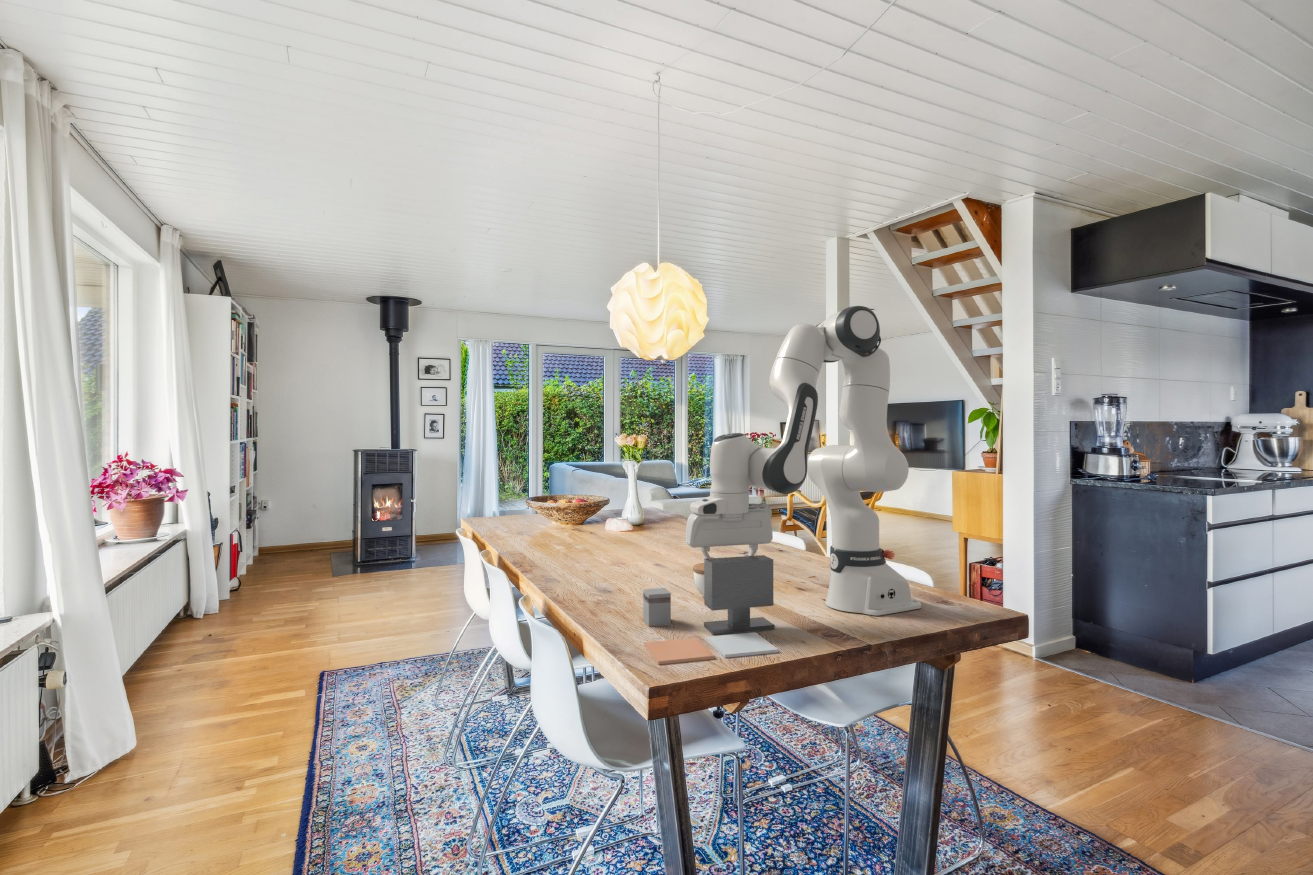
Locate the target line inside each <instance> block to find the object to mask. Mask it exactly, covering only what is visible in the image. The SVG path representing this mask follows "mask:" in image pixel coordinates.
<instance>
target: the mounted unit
mask: <svg viewBox="0 0 1313 875" xmlns="http://www.w3.org/2000/svg"><path fill="white" fill-rule="evenodd" d="M703 563H704V597H703V598H704V602H703V604H704V605H705V606H706V607H707V608H708V609H709V610H711V611H713V612H715V611H722V610H723V611H724V610H726V611H727V620H726V619H724V620H713V621H704V622H703V628H704V629H706V630H707V631H708V632H709V633H710V634H712V636H720V635H731V634H742V633H753V632H759V631H773V630H774V631H775V624H774V623H773V622H771V621H770V620H768V619H767V618H765V617H763V616H760V617H751V608H763V607H773V606H774V559H773V558H771V557H768V556H766V555H762V554H761V555H754V556H744V555H743V556H729V557H712V558H708V559H706V558H704V561H703Z"/></svg>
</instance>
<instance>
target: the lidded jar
mask: <svg viewBox="0 0 1313 875" xmlns="http://www.w3.org/2000/svg"><path fill="white" fill-rule="evenodd" d="M692 570H693V582H694V586H695V588H696V591H697V592H698V593H699V594H700V596H701V597H702V598H704V562H699V563H695V564H694V565H693V566H692Z"/></svg>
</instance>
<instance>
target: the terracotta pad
mask: <svg viewBox="0 0 1313 875" xmlns="http://www.w3.org/2000/svg"><path fill="white" fill-rule="evenodd" d="M643 645H644V647H645V648H646V650H647V651H648V652H649V654H650V655H651V657H652V658H653V659H654V661H655V663H656V664H657V665H666V664H667V665H669V664H675V663H676V664H678V663H688V662H697V661H706V660H707V661H708V660H715V659H716V656H715V654H714V653H713V652H712V651H711V650H710V649H709V648H707V646H706V645H704V644H703V643H702V641H700V640H699V639H698V638H697V637H690V638H689V637H688V638H677V639H668V640H667V639H666V640H658V641H656V640H655V641H646V642H644V643H643Z"/></svg>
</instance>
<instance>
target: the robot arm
mask: <svg viewBox="0 0 1313 875" xmlns="http://www.w3.org/2000/svg"><path fill="white" fill-rule="evenodd" d="M881 342H882V338H881V327H880V322H879V319H878V317H877V314H875V312H874V311H873V310H872V309H871V308H869V307H867V306H864V305H855V306H854V305H853V306H848V307H846V308H844V309H842V310H840V311H837V312H836V313H833V314H831V315H830V316H829V317H828V318H826V319H824V320H823V321H822V322H821V323H818V324H816V325H814V324H811V323H799V324H796V325H794V326H792V327H791V328H790V329H789V331H788V333H787V334H786V336H785V337H784V339H783V341H782V343H781V345H780V347H779V349H778V351H777V353H776V357H775V359H774V362H773V364H772V367H771V370H770V373H769V379H768V380H769V382H768V384H769V387H770V391H771V393H773V395H774V396H775V397H776V398H777V399H778V400H780V401H781V402H783V403H785V404H786V405H787V409H788V410H787V411H788V413H787V414H788V415H787V419H786V423H785V426H784V432H783V436H782V439H781V443H779V445H778V446H777V447H773V448H772V447H763V446H762V445H760V444H757V443H755V442H753V441H752V440H750V439H749V438H748V437H747V435H746V434H745V433H741V432H740V433H739V432H733V433H725V434H722V435H719V436H717V437H715V439H714V440H713V441H712V444H711V448H710V454H709V455H710V457H709V475H710V478H711V485H710V487H709V488H710V489H709V495H708V496H707V497H704V498H702V499H698V500H696V501H693V502H691V503H690V505H689V510H690V512H692V513H690V514H689V516H688V517H687V520H686V526H685V543H686V544H687V545H688V546H689V547H691V548H694V549H695V548H700V551H701V553H702V555H703V556H704V559H708V558H713V557H711V556H710V554H709V553H710V551H711V549H710V548H711V547H727V546H730V547H731V546H732V547H733V546H748V548H749V549H750V550H749V551H748V553H747V554H746V555H743V556H756V553H757V552H758V549H759V545H763V544H764V545H766V544H768V545H769V544H770V543H771V542H772V541H773V525H772V515H773V514H772V513H773V511H772V508H771V507H770V506H769V505H767V503H764V502H762V503H761V502H760V503H750V495H749V494H750V493H749V492H750V489H749V488H751V487H752V488H754V489H755V488H756V489H761V490H767V491H772V492H775V493H779V494H783V495H789V494H793V493H796V492H797V491H798V490H799V489H800V488H801V487H802V486H803V484H804V483H805V481H806V478H807V475H808V478H809V479H810V481H811V482H812V483H813V484H814V485H815V486H816V487H817V488H818V490H819V491H820V492H821V494H822V495H823V497H824V499H825V501H826V503H827V504H826V505H827V506H828V509H829V514H830V515H829V516H830V522H831V525H830V526H831V545H830V547H829V549H830V550H829V566H830V578H829V584H828V590H827V595H826V598H825V602H824V604H825V605H826V606H827V607H829V608H831V609H834V610H837V611H841V612H847V613H848V612H849V613H854V614H855V613H856V614H857V613H858V614H865V615H869V616H875V617H876V616H883V615H884V616H885V615H890V614H894V613H901V612H908V611H913V610H918V609H922V603H921V602H920V601H919V600H918V599H916V598H914V597H912V595H911V594H912V592H911V588H910V584H909V582H908V580H907V579H906V578H905V577H904V576H903V575H901V574H900V573H899V572H897V571H896V570H895V569H893V567H891V566H890V565H889V564H888V563H887V561H886V560H887V559H888V560H894V558H895V552H894V551H893V550H889V549H885V550H884V549H882V548H881V547H880V519H879V516H878V514H877V512H876V511H874V509H872V508H871V507H870V506H868V505H867V504H866V503H865V501H864V500H863V498H862V495H861V492H870V493H885V492H892V491H897V490H899V489H901V488H902V487H903V486H904V484H905V483H906V481H907V479H908V476H909V470H910V468H909V462H908V460H907V458H906V456H905V455H904V453H903V452H902V451H901V450H900V449H899V448H898V447H897V446H896V445H895V444H894V442H893V441H892V438H891V436H890V433H889V428H888V422H887V420H888V404H889V396H890V388H891V387H890V386H891V366H890V364H891V363H890V357H889V354H888V353H887V352H886V351H885V350H883V349H882V348H880V345H881ZM839 361H841V363H842V365H843V369H844V379H843V384H842V390H841V396H840V404H839V410H838V412H839V413H838V417H839V420H840V422H841V424H842V425H843V426H844V427H846V428H847V429H848V430H849V431H851V432H852V434H853V437H854V438H853V439H854V442H853V445H847V444H845V445H844V444H831V445H825V446H821V447H817V448H815V449H813V450H811V453H809V449H810V443H811V440H812V435H813V430H814V426H815V422H816V421H815V420H816V417H817V412H818V411H817V410H818V404H819V396H818V395H819V394H818V391H817V390H816V388H817V383H818V378H819V375H820V372H821V369H822V366H823V363H827V364H828V363H836V362H839ZM809 454H810V455H809Z"/></svg>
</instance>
